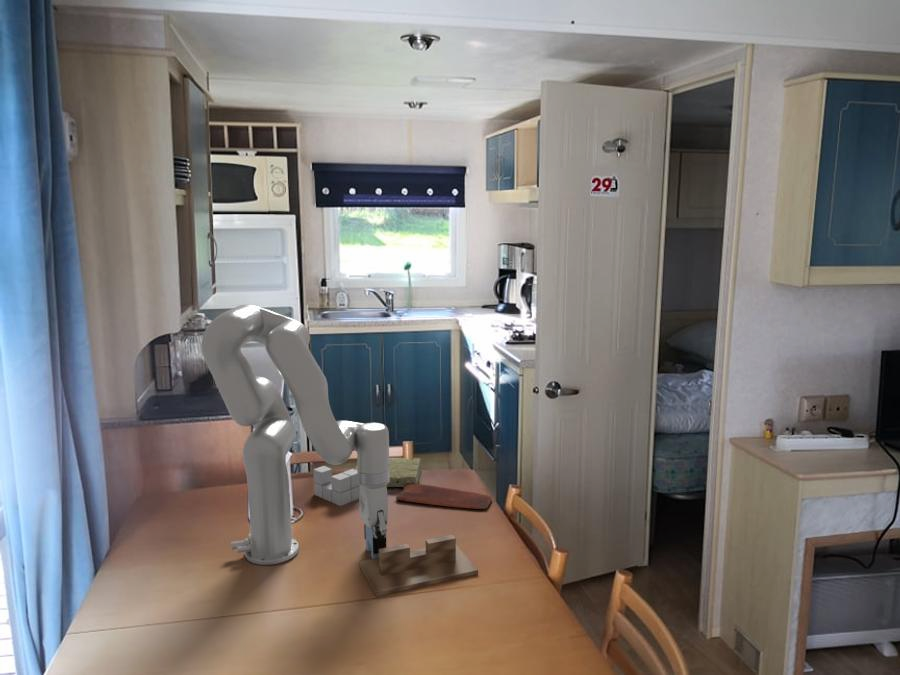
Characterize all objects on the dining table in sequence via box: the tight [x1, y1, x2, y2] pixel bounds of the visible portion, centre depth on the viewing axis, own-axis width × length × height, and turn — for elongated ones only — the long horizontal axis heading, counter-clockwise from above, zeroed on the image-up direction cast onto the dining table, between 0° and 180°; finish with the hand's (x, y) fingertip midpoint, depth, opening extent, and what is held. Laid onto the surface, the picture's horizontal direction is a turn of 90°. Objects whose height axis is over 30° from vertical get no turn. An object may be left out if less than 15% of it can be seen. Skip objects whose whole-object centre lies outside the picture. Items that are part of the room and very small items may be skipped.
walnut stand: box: [359, 534, 479, 597], centre depth 157 cm, size 24×14×6 cm, turn 112°
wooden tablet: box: [395, 483, 493, 510], centre depth 194 cm, size 27×10×2 cm, turn 74°
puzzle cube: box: [312, 465, 359, 507], centre depth 198 cm, size 12×12×8 cm
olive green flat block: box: [354, 457, 422, 488], centre depth 210 cm, size 19×6×20 cm
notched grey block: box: [364, 522, 380, 559], centre depth 164 cm, size 7×3×8 cm, turn 22°
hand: (375, 544), depth 164 cm, fingers closed on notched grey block, 6 cm apart
